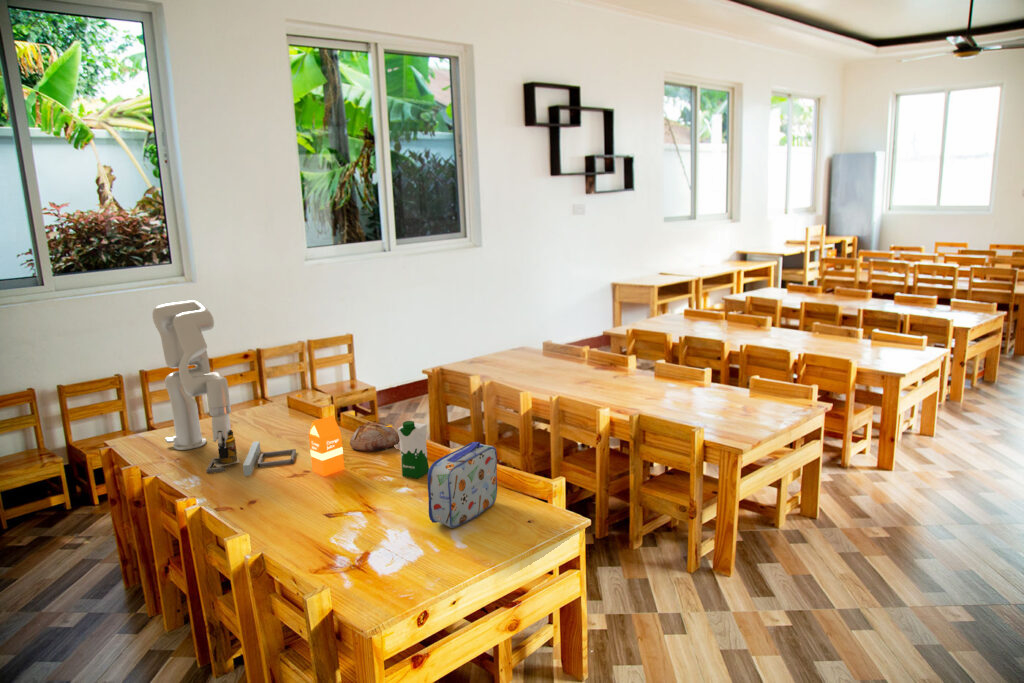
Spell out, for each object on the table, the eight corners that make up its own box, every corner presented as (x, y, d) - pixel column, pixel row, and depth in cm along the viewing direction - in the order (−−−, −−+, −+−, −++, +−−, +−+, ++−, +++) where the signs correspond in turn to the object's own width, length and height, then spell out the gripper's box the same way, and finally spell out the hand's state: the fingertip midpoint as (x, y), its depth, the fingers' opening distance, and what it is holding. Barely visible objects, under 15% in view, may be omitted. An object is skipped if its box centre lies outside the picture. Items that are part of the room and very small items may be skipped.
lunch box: (477, 494, 236) (474, 431, 231) (504, 500, 230) (501, 435, 226) (425, 529, 213) (420, 459, 209) (453, 536, 208) (448, 465, 203)
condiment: (240, 462, 271) (236, 432, 268) (216, 467, 266) (212, 437, 264) (235, 456, 277) (232, 427, 274) (212, 461, 272) (208, 431, 270)
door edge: (244, 476, 261) (242, 465, 260) (254, 451, 286) (253, 441, 285) (251, 475, 261) (249, 464, 260) (260, 450, 286) (259, 441, 285)
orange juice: (344, 468, 263) (339, 417, 259) (324, 476, 257) (318, 423, 253) (332, 464, 268) (327, 413, 264) (312, 471, 262) (306, 419, 258)
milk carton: (398, 477, 253) (394, 423, 249) (412, 467, 261) (408, 415, 257) (419, 480, 249) (415, 426, 245) (433, 470, 257) (429, 418, 253)
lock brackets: (206, 473, 265) (206, 469, 264) (213, 461, 276) (212, 458, 276) (293, 463, 271) (292, 459, 270) (296, 452, 282) (295, 448, 282)
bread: (347, 446, 290) (344, 422, 289) (395, 437, 297) (392, 414, 296) (355, 456, 275) (352, 431, 274) (404, 447, 282) (402, 422, 281)
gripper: (213, 403, 275) (219, 447, 279) (204, 417, 258) (210, 464, 262) (234, 401, 276) (239, 445, 280) (226, 415, 260) (232, 462, 264)
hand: (225, 454), depth 271 cm, fingers closed on condiment, 6 cm apart
